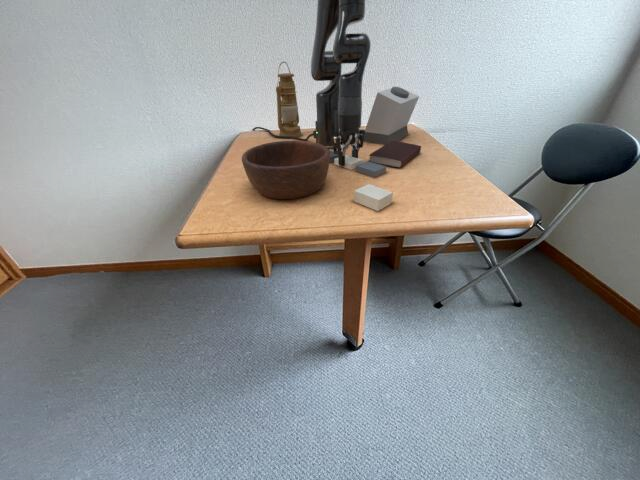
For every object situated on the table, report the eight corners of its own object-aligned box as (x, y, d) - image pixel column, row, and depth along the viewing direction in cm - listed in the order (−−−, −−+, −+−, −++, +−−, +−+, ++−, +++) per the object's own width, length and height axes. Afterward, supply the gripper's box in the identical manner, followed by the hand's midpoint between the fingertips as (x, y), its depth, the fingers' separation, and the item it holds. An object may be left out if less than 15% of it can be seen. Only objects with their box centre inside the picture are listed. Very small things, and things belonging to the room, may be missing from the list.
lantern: (286, 130, 140) (279, 60, 123) (305, 131, 138) (301, 60, 121) (274, 138, 129) (265, 62, 111) (295, 139, 126) (289, 62, 109)
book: (420, 153, 105) (422, 144, 103) (401, 169, 93) (402, 159, 91) (389, 148, 111) (390, 140, 110) (367, 162, 99) (368, 153, 97)
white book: (334, 164, 98) (334, 158, 97) (345, 160, 102) (345, 154, 100) (350, 169, 93) (351, 164, 92) (362, 165, 97) (362, 159, 96)
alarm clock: (381, 130, 135) (386, 83, 123) (413, 134, 127) (421, 84, 116) (361, 140, 122) (364, 88, 110) (395, 146, 114) (402, 90, 102)
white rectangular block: (353, 201, 74) (354, 190, 73) (367, 194, 78) (368, 183, 76) (377, 211, 70) (378, 199, 68) (391, 203, 73) (393, 192, 71)
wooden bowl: (239, 206, 74) (231, 169, 68) (255, 172, 94) (250, 141, 88) (332, 203, 74) (332, 165, 68) (328, 169, 94) (328, 138, 88)
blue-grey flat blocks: (315, 158, 104) (315, 152, 103) (326, 154, 108) (326, 149, 107) (374, 177, 87) (375, 171, 86) (385, 172, 91) (386, 166, 90)
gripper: (355, 107, 94) (353, 156, 103) (325, 113, 86) (326, 166, 96) (373, 109, 89) (369, 160, 99) (343, 116, 81) (342, 171, 91)
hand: (348, 163), depth 97 cm, fingers closed on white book, 6 cm apart
